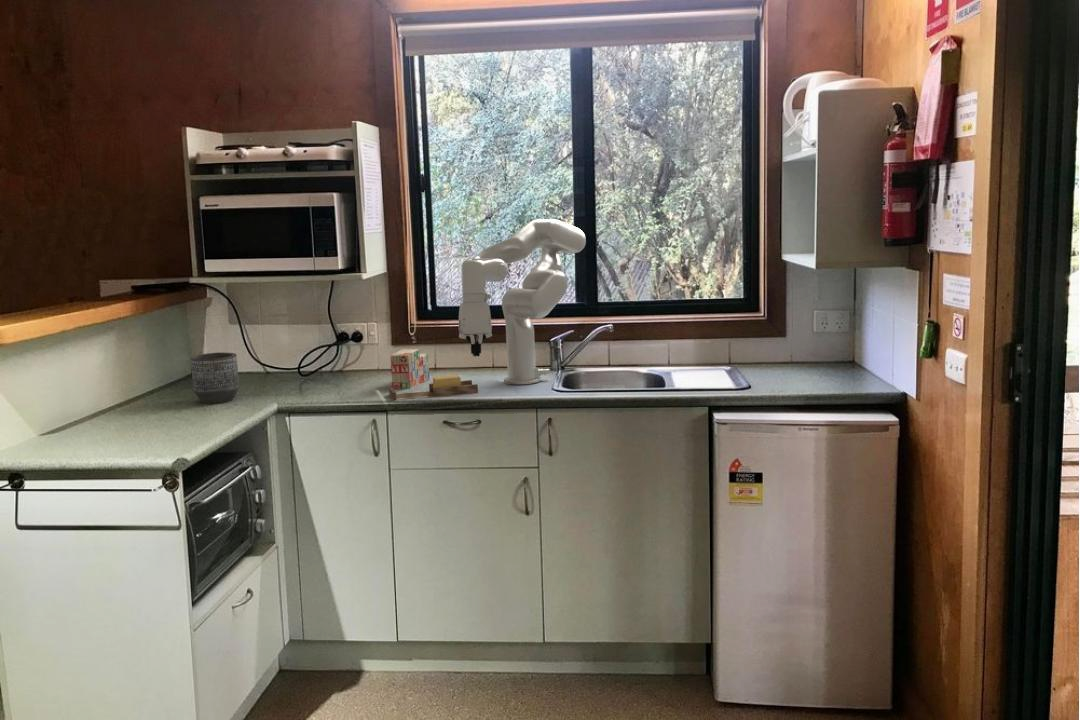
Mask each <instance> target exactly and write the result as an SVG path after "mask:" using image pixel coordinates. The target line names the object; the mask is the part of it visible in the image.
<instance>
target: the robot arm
mask: <svg viewBox="0 0 1080 720" xmlns="http://www.w3.org/2000/svg"><path fill="white" fill-rule="evenodd" d="M586 242H587V240H586V235H585V233H584V232H583V230H581V229H580V228H579V227H576V226H574V225H571V224H569V223H566V222H564V221H561V220H558V219H554V218H553V219H552V218H545V219H544V218H543V219H533V220H531V221H528V223H526V224H525V225H524V226H522V228H520V229H519V230H517V232H516V233H514V234H512V235H511V236H510V237H509V238H506V239H503V240H502V241H499V242H498V243H495V244H493V245H491V246H489V247H488V246H487V247H486V248H484V249H483V250H481V251H480V252H478V253H477V254H476V255H475V256H474V257H472V259H468V260H464V261H463V262H462V263H461V280H462V281H461V283H462V285H461V287H462V289H461V290H462V303H459V311H458V332H459V334H458V338H460V339H462V340H463V339H464V340H466V341H468V343H469V344H470V354H472V356H473V357H481V355H480V354H482V343H483V342H484V341H485V339H488V338H491V337H492V336H493V333H492V329H493V326H492V325H493V323H492V316H491V309H490V304H489V303H488V300H491V299H492V297H491V294H488V293H487V282H491V283H498V282H502V281H505V279H506V278H507V276H508V275H509V266H508V264H512V263H516V262H520V261H522V260H525V259H526V258H528V257H529V256H530V255H531V254H532V253H533V252H534V251H536V249H538V248H540V247H541V257H540V258H541V259H540V260H539V261H538V262H537V264H536V265H535V266H534V267H533V268H532V269H531V271H529V272H528V274H527V275H526V276H525V277H524V279H523V281H522V288H513V289H509V290H508V291H506V292H505V293H504V294H503V296H502V297H501V298H502V299H501V308H502V313H503V317H504V323H505V339H506V361H507V376H506V377H504V378H503V383H505V384H509V385H531V384H536V383H540V382H541V380H542V378H541V376H542V375H544V376H545V375H547V376H548V375H550V369H549V368H539V367H537V366H536V345H535V344H536V342H535V326H534V324H533V322H532V320H531V319H542V318H545V317H546V316H548V315H549V314H550V313H551V311H552V310H553V309H554V308H555V307H556V305H558V304H559V302H560V301H561V300H562V299H563V298H564V296H565V295H566V292H567V289H568V279H567V276H566V275H565V273H564V272H563V264H562V263H563V262H562V259H561V254H576V253H577V254H578V253H580V252H582V250H584V248H585V246H586V244H587V243H586ZM474 335H477V336H476V339H475V336H474ZM475 340H476V341H475Z"/></svg>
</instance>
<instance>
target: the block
mask: <svg viewBox="0 0 1080 720" xmlns="http://www.w3.org/2000/svg"><path fill="white" fill-rule="evenodd" d="M461 381H462V380H461V377H460V375H458V374H452V375H450V374H449V375H439V376H432V383H433V390H434V388H440V387H451V386H461Z"/></svg>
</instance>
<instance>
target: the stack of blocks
mask: <svg viewBox="0 0 1080 720" xmlns="http://www.w3.org/2000/svg"><path fill="white" fill-rule="evenodd" d="M428 356H429V353H421V352H420V349H419V348H411V349H406V348H404V349H400V350H398V351H397V352H395V353H393V354H391V355H390V368H391V369H390V370H391V371H390V372H391V380H392V382H391V383H392V384H391V385H392V386H391V387H392V388H393V389H394V390H395V389H402V390H403V389H406V390H407V389H412V388H413V387H415V386H417V385H419V384H421V385H422V384H423V383H425V382H426V381H429V380H430V366H429V365H430V364H429V357H428Z"/></svg>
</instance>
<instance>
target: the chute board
mask: <svg viewBox="0 0 1080 720" xmlns="http://www.w3.org/2000/svg"><path fill="white" fill-rule="evenodd" d="M478 385H479V384H475V383H474V384H473V380H472V379H468V380H467V379H466V380H461V386H451V387H440V388H434V390H433V382H431V383H428V390H427V391H424V390H422V391H413V392H402V393H400V392H399V393H397V392H396V391H395V388H392V386H391V387H390V386H389V387H388V396H389V397H390V398H391V399H392V401H403V400H412V399H423V398H425V399H427V398H434V397H435V398H436V397H443V396H457V395H468V394H469V395H470V394H477V393H479V387H478Z"/></svg>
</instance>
